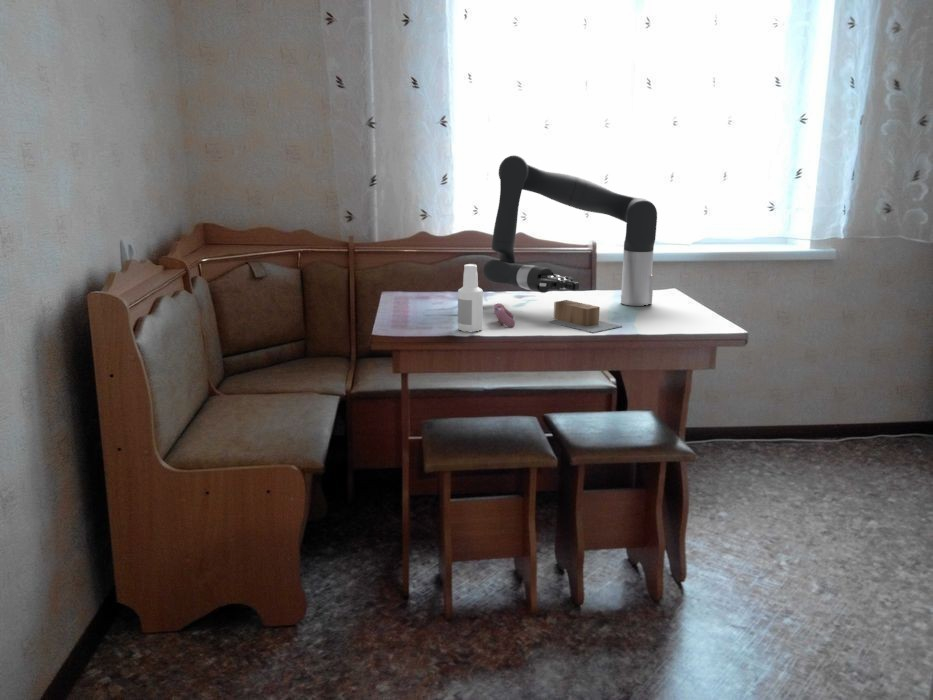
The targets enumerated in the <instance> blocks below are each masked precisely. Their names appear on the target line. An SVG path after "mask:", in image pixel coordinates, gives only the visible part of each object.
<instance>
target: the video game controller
mask: <svg viewBox="0 0 933 700" xmlns="http://www.w3.org/2000/svg"><path fill="white" fill-rule="evenodd" d="M493 309H494V310H493V311H492V312H493V314H494V315H495V317H496V319H497V320H498V323H499V324H500V325H501V326H503V325H504V326H506V327H508V328H513V327H514V326H515V323H516V322H515V321H514V315H513V314H512V312H510V311H509V310H508V309H507V308H506V307H505V305H504V304H503V303H496V304H494V305H493Z"/></svg>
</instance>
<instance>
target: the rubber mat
mask: <svg viewBox="0 0 933 700" xmlns="http://www.w3.org/2000/svg"><path fill="white" fill-rule="evenodd" d="M548 323H550V324H554V325H558V324H559V326H562V325H563V326H562V327H566V326H567V328H570V327H572V329H574V328H577V329H576V330H578V329H581V330H580V331H582V330H585V331H584V332H586V331H589V332H588V333H591V332H596V333H600V332H599V331H601V332H604V330H605V331H609V330H608V329H610V330H614V329H613V328H615V329H619V328H618V327H620V328H622V327H623V326H622V325H619V324H616V323H615V324H614V323H611V322H605V321H602V320H599V324H597V325H592V326H588V327H586V326H582V325H578V324H573V323H569V322H565V321H561V320H557V319H554V320H549V321H548Z"/></svg>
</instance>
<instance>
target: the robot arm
mask: <svg viewBox="0 0 933 700" xmlns="http://www.w3.org/2000/svg"><path fill="white" fill-rule="evenodd" d="M498 178H499V181H500V182H499V183H500V184H499V185H500V186H499V187H500V188H499V189H500V191H499V194H500V195H499V200H498V207H497V211H496V212H497V213H496V217H495V223H494V227H493V233H492V240H491V241H492V242H491V250H492V251H493V252H495V253H497V254H498V256H499V259H491V260H487V262H485V263H484V265H483V267H482V275H483V277H484V278H485V280H487V281H489V282H491V283H498V284H504V285H505V284H507V285H511V286H514V287H516V288H517V287H518V288H522V289H524V290H527V291H533V292H536V293H537V292H538V293H541V294H543V293H544V294H545V293H547V292H549V291H551V290H557V291H559V290H571V291H578V290H579V289H580V283H579V282H578V281H574V278H573V277H572V276H570V275H567V276H563V275H562V276H561V275H560V274H556V273H555V274H554V272H553V271H552V269H550V268H548V267H544V266H539V265H532V264H529V265H528V264H527V265H526V264H523V263H516V259H515V258H516V257H515V250H514V249H515V248H514V247H515V242H516V235H517V227H518V226H517V225H518V216H519V208H520V207H519V206H520V202H521V201H520V200H521V196H522V191H526V192H527V191H528V192H531V193H536V194H538V195H541V196H543V197H546V198H547V199H549V200H553V201H555V202H556V203H559V204H560V203H561V204H563V205H566V206H568V207H570V208H574V209H577V210H581V211H585V212H589V213H596V214H603V215H607V216H610V217H612V218H615V219H617V220H620V221H622V222H624V223H626V226H625V227H626V229H625V237H624V242H623V253H622V254H623V256H622V258H623V259H622V274H621V275H622V277H621V294H620V303H621V304H622V305H626V306H631V307H632V306H634V307H643V306H644V305H646V306H649V305H648V304H652V305H653V296H654V295H653V293H654V292H653V291H654V274H653V261H654V247H655V242H656V237H657V235H656V233H657V227H658V226H657V223H658V211H657V207H656V206H655V204H653V202H651V201H650V200H647V199H645V198H643V197H642V198H641V197H635V196H629V195H624V194H622V193H617V192H615V191H612V190H611V189H607V188H606V187H603V186H602V185H600V184H597V183H595V182H592V181H590V180H586V179H584V178H581V177H579V176H578V177H577V176H575V175H570V174H565V173H560V172H559V173H558V172H551V171H545V170H542V169H539V168H537V167H534V166H532V165H530V164H527V162H526V160H525V159H524V158H523V157H521V156H519V155H515V154H513V155H509V156H507V157H505V158H504V159H503V160H502V161H501V162H500V164H499V168H498Z"/></svg>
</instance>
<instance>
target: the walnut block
mask: <svg viewBox="0 0 933 700" xmlns="http://www.w3.org/2000/svg"><path fill="white" fill-rule="evenodd" d="M600 309H601V308H600V306H597V305H591V304H587V303H583V302H578V301H572V300H568V299H564V300H558V301H553V319H554V320H561V321H565V322H569V323H573V324H578V325H582V326H586V327H588V326H592V325H597V324H599V321H600Z"/></svg>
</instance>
